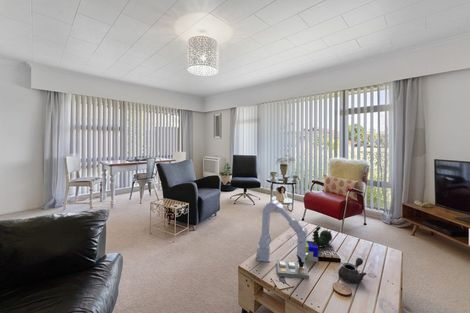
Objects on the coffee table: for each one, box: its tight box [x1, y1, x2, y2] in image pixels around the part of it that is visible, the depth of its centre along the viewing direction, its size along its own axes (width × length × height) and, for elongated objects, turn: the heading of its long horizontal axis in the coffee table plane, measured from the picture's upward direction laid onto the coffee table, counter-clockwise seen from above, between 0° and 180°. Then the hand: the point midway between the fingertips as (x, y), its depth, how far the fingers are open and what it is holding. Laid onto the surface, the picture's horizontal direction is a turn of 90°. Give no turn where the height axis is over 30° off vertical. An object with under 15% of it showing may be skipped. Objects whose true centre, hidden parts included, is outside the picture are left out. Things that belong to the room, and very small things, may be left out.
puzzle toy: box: [305, 240, 319, 262], centre depth 153 cm, size 10×10×10 cm
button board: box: [276, 259, 310, 279], centre depth 137 cm, size 19×14×2 cm
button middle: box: [289, 261, 295, 268], centre depth 138 cm, size 4×4×2 cm
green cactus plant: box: [312, 225, 333, 247], centre depth 171 cm, size 9×19×25 cm
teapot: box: [337, 257, 367, 284], centre depth 130 cm, size 19×15×10 cm
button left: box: [280, 260, 286, 267], centre depth 139 cm, size 4×4×2 cm
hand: (301, 266), depth 137 cm, fingers closed, pressing on button right
